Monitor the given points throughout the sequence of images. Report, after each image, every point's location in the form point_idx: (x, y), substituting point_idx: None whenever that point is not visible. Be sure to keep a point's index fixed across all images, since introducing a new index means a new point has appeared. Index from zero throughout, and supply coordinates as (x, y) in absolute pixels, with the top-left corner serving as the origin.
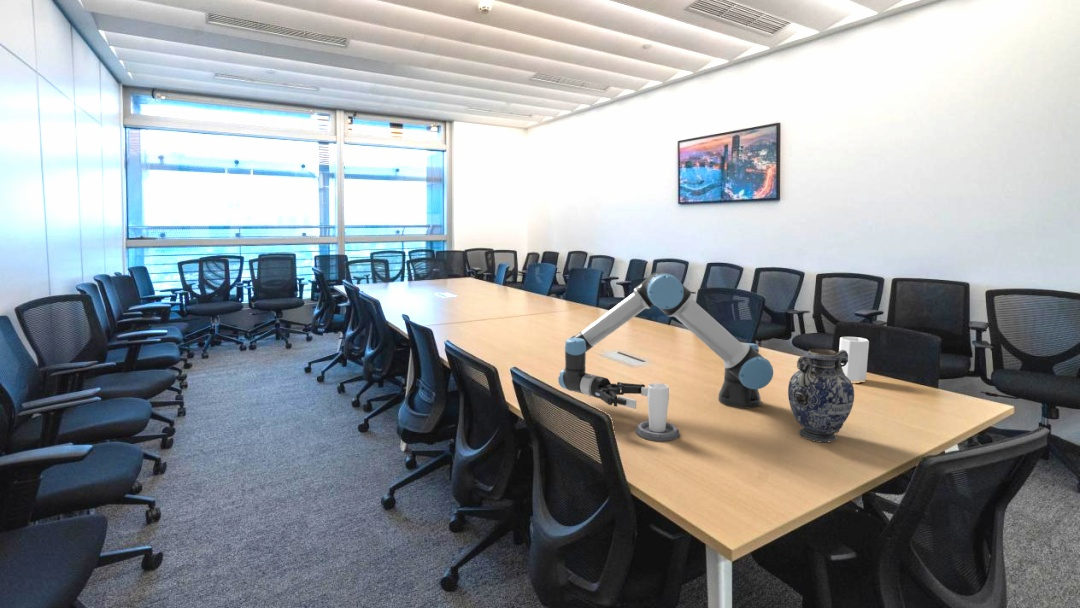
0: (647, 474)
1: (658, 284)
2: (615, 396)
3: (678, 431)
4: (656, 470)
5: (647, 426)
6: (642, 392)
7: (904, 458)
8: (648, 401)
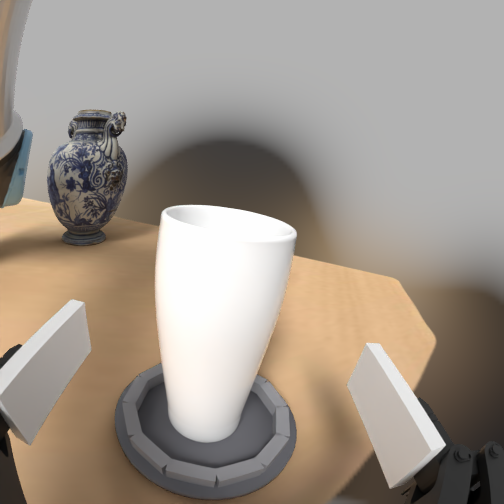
0: (409, 344)
1: None
2: (465, 450)
3: None
4: (388, 342)
5: (187, 460)
6: (24, 422)
7: (125, 219)
8: (268, 334)
